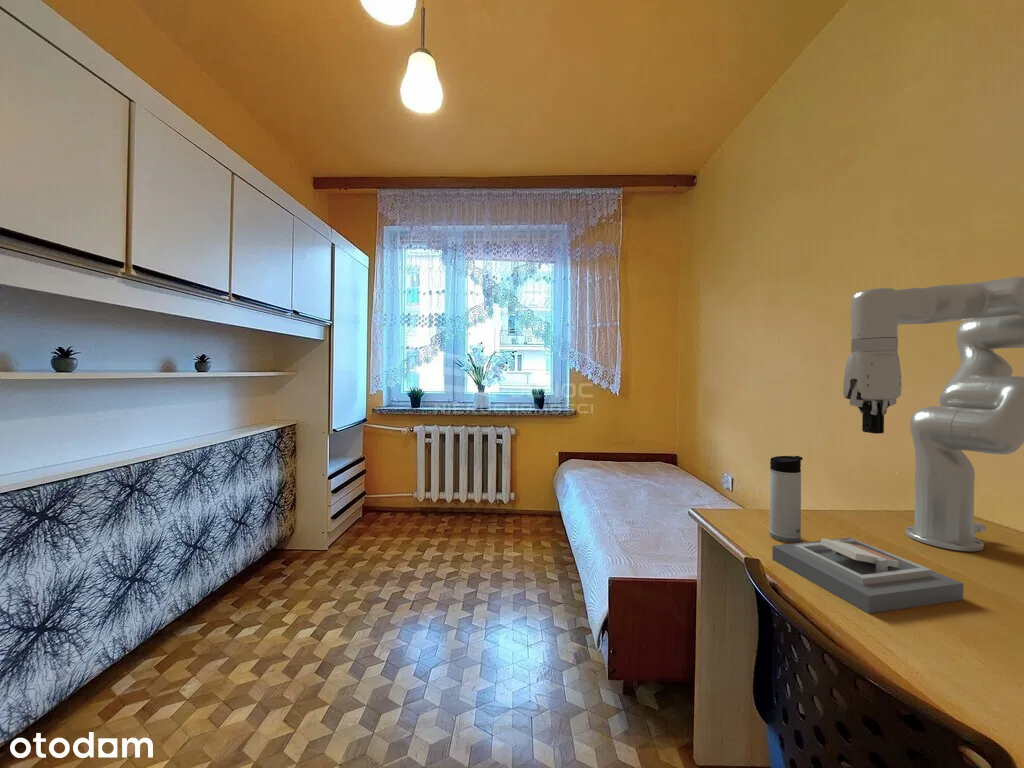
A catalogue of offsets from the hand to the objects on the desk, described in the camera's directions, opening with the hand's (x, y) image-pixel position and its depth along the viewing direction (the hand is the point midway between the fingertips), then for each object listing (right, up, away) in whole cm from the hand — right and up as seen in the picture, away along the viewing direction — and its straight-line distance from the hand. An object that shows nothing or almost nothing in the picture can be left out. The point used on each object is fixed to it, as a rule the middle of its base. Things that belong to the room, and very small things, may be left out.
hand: (872, 432), depth 88 cm
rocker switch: (-10, -23, -8) cm, 26 cm away
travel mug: (-11, -27, +11) cm, 31 cm away
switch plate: (-10, -28, -8) cm, 30 cm away
